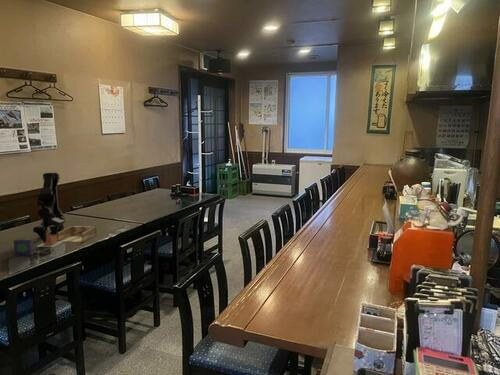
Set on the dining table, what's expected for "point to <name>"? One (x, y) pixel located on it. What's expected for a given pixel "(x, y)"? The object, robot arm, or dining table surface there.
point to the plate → (49, 245)
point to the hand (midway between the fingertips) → (49, 240)
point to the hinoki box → (76, 233)
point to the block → (50, 239)
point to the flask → (23, 247)
